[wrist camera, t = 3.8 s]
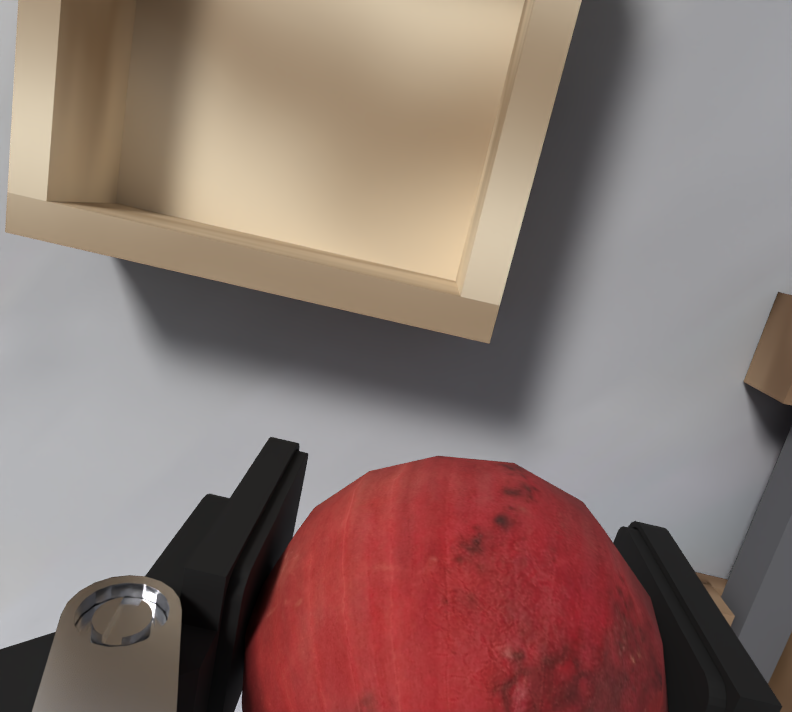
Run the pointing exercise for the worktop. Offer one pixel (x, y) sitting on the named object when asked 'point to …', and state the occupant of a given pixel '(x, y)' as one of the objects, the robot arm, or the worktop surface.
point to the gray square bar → (766, 572)
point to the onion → (452, 602)
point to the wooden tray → (292, 143)
